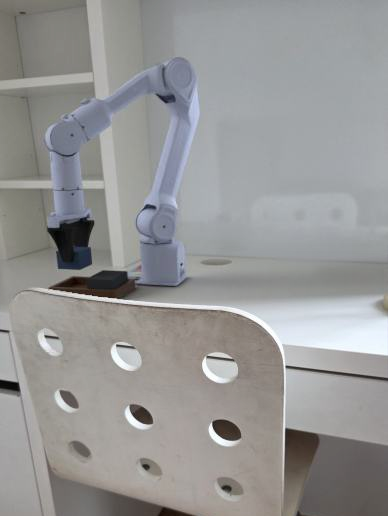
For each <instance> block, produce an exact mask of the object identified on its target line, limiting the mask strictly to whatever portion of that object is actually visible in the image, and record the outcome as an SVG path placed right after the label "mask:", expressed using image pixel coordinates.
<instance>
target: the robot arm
mask: <svg viewBox="0 0 388 516" xmlns="http://www.w3.org/2000/svg"><path fill="white" fill-rule="evenodd" d="M198 83H199V76H198V74H197V73H196V71H195V69H194V66H193V65H192V63H190V61H189V60H188V59H186V58H185V57H181V56H175V57H173V58H170V60H168V61H164V62H161V63H157V64H154V65H153V66H152V67H150V68H147V69H145V70H143V71H141V72H139V73H137V74H136V75H134V76H133V77H132V78H130V79H129V80H128V81H127V82H125V83H124V84H122V85H121V86H120V87H118V88H117V89H116V90H114V91H113V92H112V93H111V94H109V95H108V96H106V97H105V98H104V99H99V98H97V97H91V98H90V99H89V98H88V97H87V98H84V99H83V100H81V101H80V104H81V106H79V107H78V108H77V109H75V110H74V111H72V112H70V113H69V114H67V113H64V114H62V115H61V116H60V119H61V120H62V121H58V122H57V123H53V124H52V125H51V126H49V127H47V130H46V132H45V135H44V139H43V143H44V146H45V148H46V149H47V150H48V152H49V162H50V165H49V168H50V177H51V187H52V195H53V202H54V203H53V204H54V211H53V212H50V216H46V223H47V226H46V232H47V233H48V234H49V236H50V237H51V238H52V240H53V242H54V244H55V245H56V248H57V251H59V254H60V256H61V259H62V262H73V258H74V247H89V243H90V238H91V234H92V231H93V229H94V227H95V224H96V223H95V220H94V219H92V218H93V214H92V213H93V212H92V208H85V198H84V197H85V196H84V187H83V176H82V164H81V162H80V161H81V159H80V151H81V149H82V147H83V145H84V144H85V145H86V144H87V143H88V142H90V141H91V140H93V139H94V138H95V137H97V136H98V135H99V134H101V133H102V132H104V131H105V130H107V129H108V128H110V127H111V126H112V123H113V117H114V115H116V114H117V113H118V112H120V111H122V110H123V109H125V108H126V107H127V106H129V105H131V104H132V103H134V102H135V101H137V100H139V99H140V98H141V97H143V96H151V95H155V97H156V98H158V99H159V101H161V102H162V104H164V105H165V107H166V109H167V111H168V112H169V115H170V116H171V120H170V123H169V127H168V131H167V134H166V138H165V142H164V145H163V147H162V148H163V149H162V152H161V155H160V159H159V163H158V167H157V169H156V174H155V177H154V180H153V185H152V188H151V191H150V193H149V194H148V196H146V198H145V199H144V201H143V205H142V207H141V209H140V210H139V211H138V212H137V213H136V215H135V219H134V226H135V229H136V230H137V232H138V233H139V234H140V238H139V250H140V252H139V253H140V265H141V269H142V278H141V279H137V280H136V281H135V285H145V286H146V285H147V286H148V285H149V286H167V287H177V286H178V285H180V284H181V283H182V282H184V280H186V279H187V278H188V276H187V273H186V272H187V270H186V267H187V266H186V248H185V244H184V243H183V242H182V241H175V240H174V237H175V235H176V234H177V231H178V219H177V217H178V213H179V207H178V204H177V200H176V198H177V195H178V191H179V188H180V184H181V181H182V178H183V174H184V171H185V168H186V164H187V161H188V157H189V153H190V150H191V147H192V143H193V139H194V136H195V133H196V129H197V125H198V122H199V119H200V114H201V112H200V111H201V110H200V103H199V95H198Z"/></svg>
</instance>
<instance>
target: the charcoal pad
mask: <svg viewBox="0 0 388 516" xmlns="http://www.w3.org/2000/svg"><path fill="white" fill-rule="evenodd" d="M127 273H128V271H127V270H109V269H108V270H106V269H102V270H100V271H99V272H96V273H94V274H93V275H90V276H88V277H89V278H87V279H86V280H87V289H103V290H114V289H116V288H117V287H119V286H121V285H122V284H124V283H126V282H127V281H128V274H127Z"/></svg>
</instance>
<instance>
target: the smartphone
mask: <svg viewBox="0 0 388 516" xmlns="http://www.w3.org/2000/svg"><path fill="white" fill-rule="evenodd" d="M127 274H128V279H135V280H139V279H141V278H142V269H141V264H139V265H138V266H136V267H134V268H133V269H131V270H130V271H127Z"/></svg>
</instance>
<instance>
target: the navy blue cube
mask: <svg viewBox="0 0 388 516" xmlns="http://www.w3.org/2000/svg"><path fill="white" fill-rule="evenodd" d="M55 255H56V263H57V264H56V265H57V270H72V271H74V270H75V271H81V270H83V269H85V268H87V267H90V266H92V265H93V257H92V247H91V246H88V247H74V258H73V262H62V259H61V256H60V254H59V251H58V250H56V251H55Z"/></svg>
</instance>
